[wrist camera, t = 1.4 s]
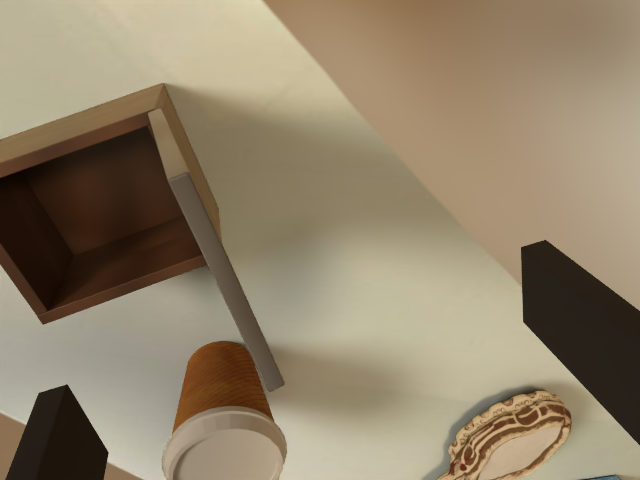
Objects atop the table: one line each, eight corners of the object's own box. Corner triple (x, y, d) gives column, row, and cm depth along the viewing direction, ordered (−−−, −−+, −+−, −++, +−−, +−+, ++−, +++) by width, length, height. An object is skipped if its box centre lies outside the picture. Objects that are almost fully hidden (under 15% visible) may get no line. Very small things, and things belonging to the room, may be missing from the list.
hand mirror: (328, 537, 60) (547, 391, 53) (328, 495, 66) (526, 357, 58) (388, 585, 63) (605, 452, 56) (383, 541, 69) (579, 415, 61)
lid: (269, 393, 23) (285, 385, 23) (166, 180, 18) (188, 171, 18) (217, 264, 35) (229, 259, 35) (147, 112, 30) (160, 107, 30)
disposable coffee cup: (285, 339, 50) (308, 435, 40) (249, 413, 53) (261, 520, 43) (188, 315, 47) (185, 413, 36) (155, 396, 50) (143, 507, 39)
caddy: (71, 262, 42) (42, 325, 35) (-5, 141, 37) (-59, 183, 30) (218, 208, 43) (223, 258, 35) (163, 82, 38) (154, 108, 30)
